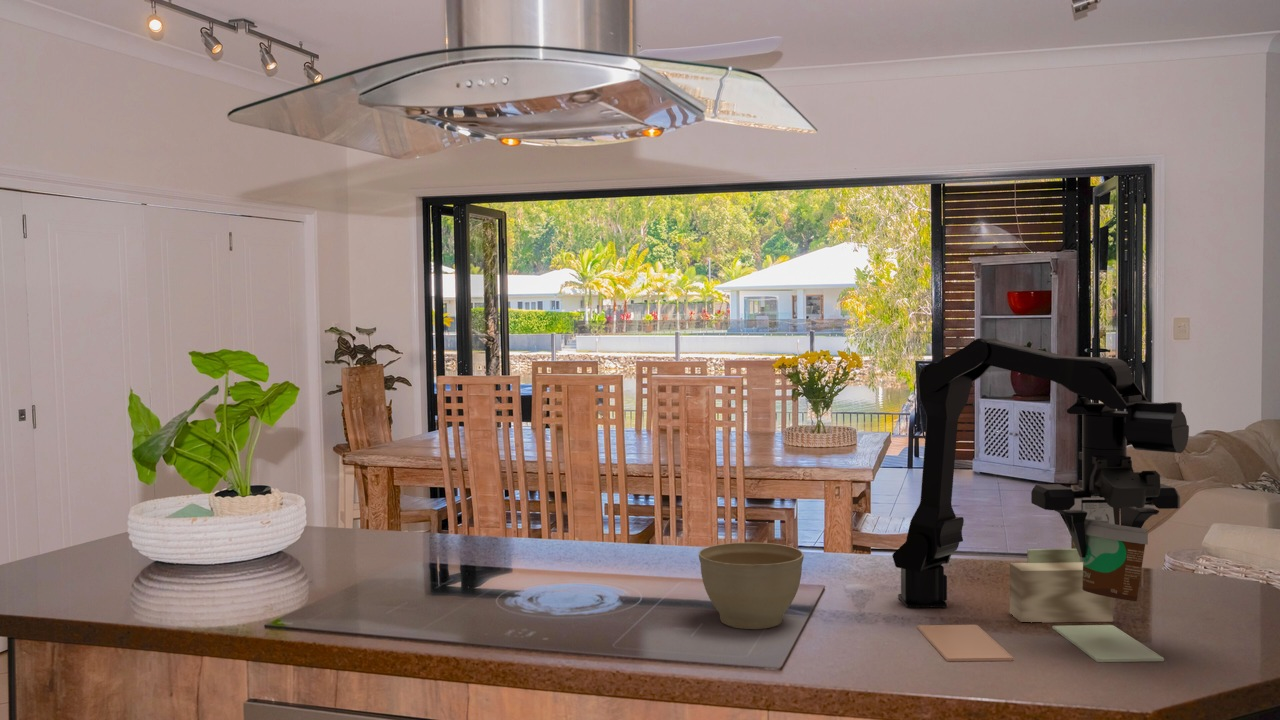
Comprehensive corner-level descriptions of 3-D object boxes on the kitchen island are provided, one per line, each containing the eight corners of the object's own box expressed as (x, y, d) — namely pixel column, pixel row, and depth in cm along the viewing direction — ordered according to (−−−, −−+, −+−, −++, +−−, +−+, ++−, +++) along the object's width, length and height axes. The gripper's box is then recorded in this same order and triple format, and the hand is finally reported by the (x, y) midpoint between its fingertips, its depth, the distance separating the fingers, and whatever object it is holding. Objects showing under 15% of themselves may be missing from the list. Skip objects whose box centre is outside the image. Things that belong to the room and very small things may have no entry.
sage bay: (1097, 662, 137) (1097, 659, 137) (1052, 628, 152) (1052, 625, 152) (1164, 661, 137) (1164, 658, 137) (1112, 627, 152) (1112, 625, 152)
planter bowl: (824, 620, 158) (824, 551, 157) (760, 645, 146) (759, 570, 146) (743, 601, 169) (743, 536, 169) (678, 622, 158) (677, 553, 157)
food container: (1058, 583, 149) (1065, 515, 150) (1100, 588, 149) (1107, 520, 150) (1096, 597, 137) (1104, 523, 138) (1142, 603, 137) (1149, 529, 138)
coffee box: (1120, 584, 176) (1121, 492, 176) (1081, 583, 178) (1081, 491, 177) (1107, 571, 185) (1108, 483, 185) (1070, 570, 187) (1070, 483, 186)
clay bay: (947, 661, 138) (947, 658, 138) (917, 628, 153) (917, 625, 153) (1013, 660, 138) (1013, 657, 138) (976, 627, 153) (976, 624, 153)
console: (1021, 622, 155) (1021, 557, 155) (1008, 612, 161) (1008, 549, 160) (1113, 621, 155) (1113, 556, 155) (1096, 611, 161) (1097, 548, 160)
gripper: (1061, 455, 135) (1061, 571, 136) (1201, 453, 135) (1201, 569, 136) (1029, 445, 147) (1029, 552, 147) (1159, 443, 146) (1159, 551, 147)
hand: (1104, 556), depth 144 cm, fingers closed on food container, 6 cm apart
